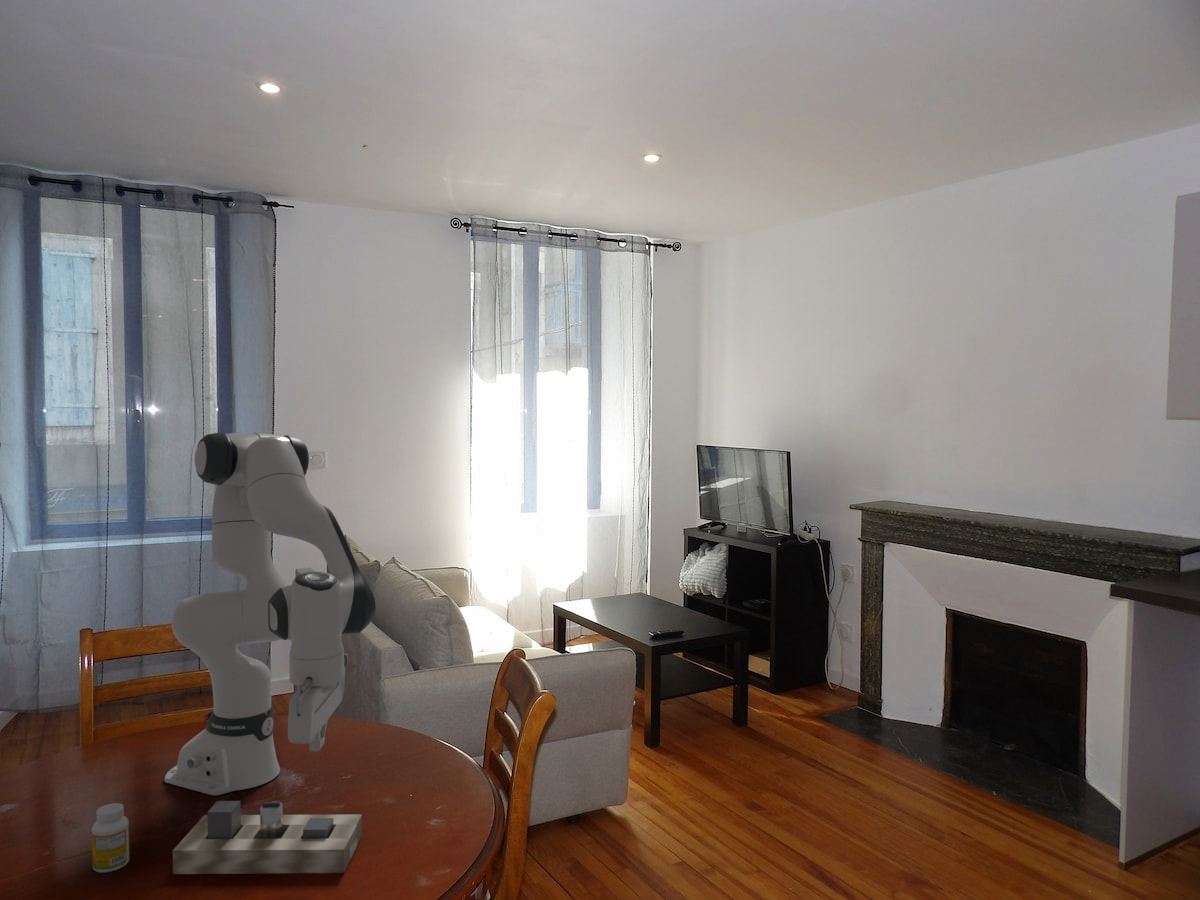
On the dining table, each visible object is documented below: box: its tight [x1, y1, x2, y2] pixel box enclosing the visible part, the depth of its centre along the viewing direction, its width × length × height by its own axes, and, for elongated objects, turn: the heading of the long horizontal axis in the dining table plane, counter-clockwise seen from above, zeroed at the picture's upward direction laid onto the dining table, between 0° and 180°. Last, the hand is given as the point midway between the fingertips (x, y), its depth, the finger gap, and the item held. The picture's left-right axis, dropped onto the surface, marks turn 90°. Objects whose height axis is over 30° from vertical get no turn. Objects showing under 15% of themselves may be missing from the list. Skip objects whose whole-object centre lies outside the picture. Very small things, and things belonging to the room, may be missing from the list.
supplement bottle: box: [91, 802, 130, 874], centre depth 142 cm, size 5×5×10 cm
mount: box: [172, 813, 363, 875], centre depth 146 cm, size 28×12×4 cm, turn 92°
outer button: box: [303, 818, 333, 839], centre depth 146 cm, size 4×4×5 cm
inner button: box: [206, 800, 242, 839], centre depth 145 cm, size 4×4×5 cm
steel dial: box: [259, 800, 284, 839], centre depth 145 cm, size 4×4×6 cm
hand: (317, 747), depth 145 cm, fingers closed
